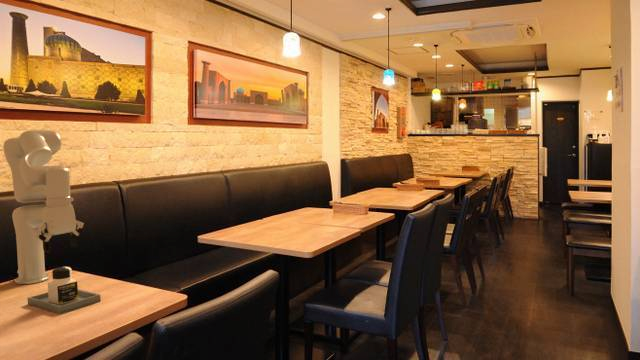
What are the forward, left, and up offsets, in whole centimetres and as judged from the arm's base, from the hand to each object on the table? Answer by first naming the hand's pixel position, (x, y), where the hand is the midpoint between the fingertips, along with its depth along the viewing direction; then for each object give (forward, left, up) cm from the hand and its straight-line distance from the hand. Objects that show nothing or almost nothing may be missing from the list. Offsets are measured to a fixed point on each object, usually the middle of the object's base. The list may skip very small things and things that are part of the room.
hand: (61, 249), depth 170 cm
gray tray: (0, 0, -20) cm, 20 cm away
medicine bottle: (0, 0, -19) cm, 19 cm away
